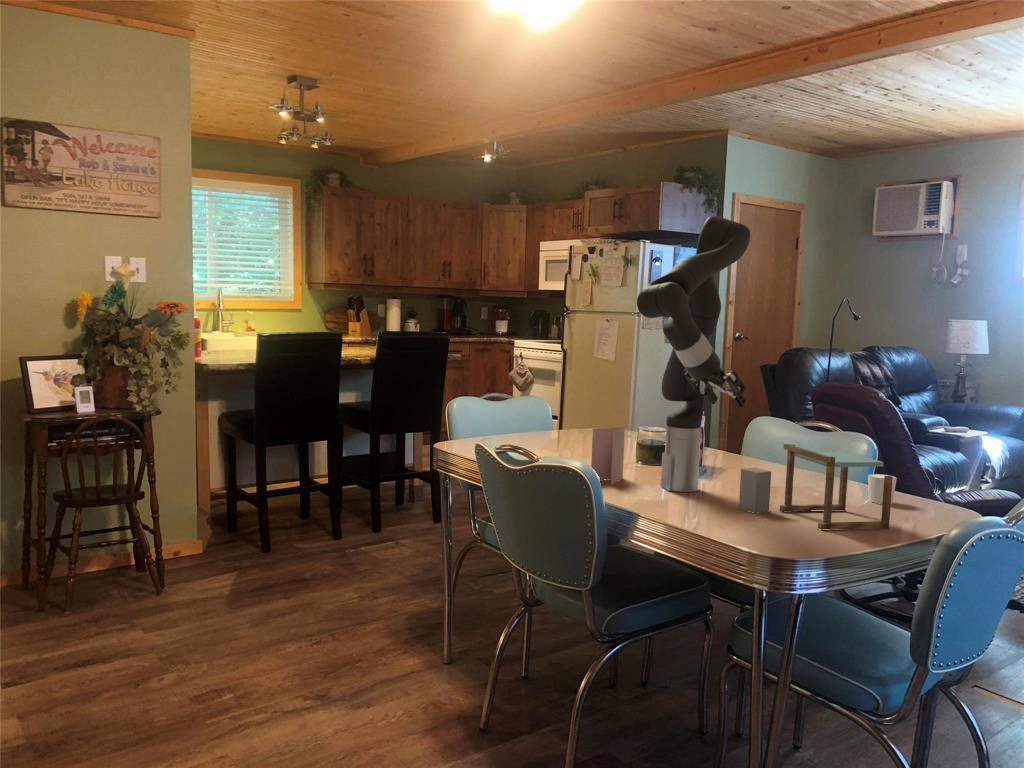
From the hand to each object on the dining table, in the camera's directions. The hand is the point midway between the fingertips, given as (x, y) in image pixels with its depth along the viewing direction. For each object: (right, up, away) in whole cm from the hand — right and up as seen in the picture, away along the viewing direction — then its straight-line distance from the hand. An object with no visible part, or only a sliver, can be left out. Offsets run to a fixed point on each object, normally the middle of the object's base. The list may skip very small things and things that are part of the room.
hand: (728, 403), depth 181 cm
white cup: (+46, -27, +21) cm, 57 cm away
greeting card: (-22, -23, +37) cm, 49 cm away
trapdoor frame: (+25, -27, +1) cm, 37 cm away
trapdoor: (+25, -13, 0) cm, 29 cm away
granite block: (+8, -26, +8) cm, 29 cm away
